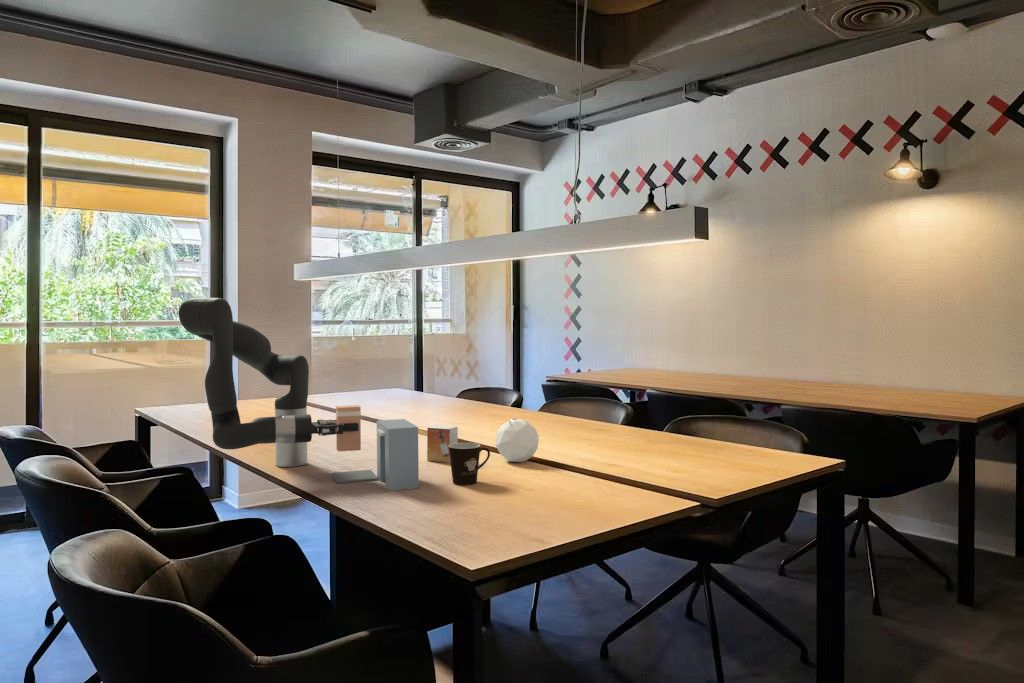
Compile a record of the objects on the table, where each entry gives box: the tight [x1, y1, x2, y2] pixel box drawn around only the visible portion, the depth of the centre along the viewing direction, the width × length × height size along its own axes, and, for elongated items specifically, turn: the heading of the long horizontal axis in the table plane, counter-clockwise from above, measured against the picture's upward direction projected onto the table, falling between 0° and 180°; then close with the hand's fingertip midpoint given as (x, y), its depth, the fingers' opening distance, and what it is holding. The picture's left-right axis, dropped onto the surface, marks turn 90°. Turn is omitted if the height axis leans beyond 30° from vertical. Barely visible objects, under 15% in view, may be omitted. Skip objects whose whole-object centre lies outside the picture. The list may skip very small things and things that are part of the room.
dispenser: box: [376, 418, 420, 492], centre depth 195 cm, size 16×9×16 cm, turn 21°
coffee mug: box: [449, 442, 491, 486], centre depth 195 cm, size 12×9×10 cm
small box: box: [426, 425, 459, 464], centre depth 225 cm, size 8×6×10 cm
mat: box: [331, 469, 380, 485], centre depth 202 cm, size 12×11×1 cm
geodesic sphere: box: [495, 417, 540, 463], centre depth 222 cm, size 14×14×14 cm
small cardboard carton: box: [335, 404, 362, 452], centre depth 201 cm, size 4×6×12 cm
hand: (356, 425), depth 202 cm, fingers closed on small cardboard carton, 4 cm apart
